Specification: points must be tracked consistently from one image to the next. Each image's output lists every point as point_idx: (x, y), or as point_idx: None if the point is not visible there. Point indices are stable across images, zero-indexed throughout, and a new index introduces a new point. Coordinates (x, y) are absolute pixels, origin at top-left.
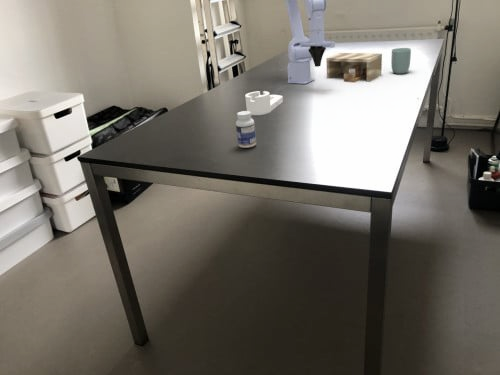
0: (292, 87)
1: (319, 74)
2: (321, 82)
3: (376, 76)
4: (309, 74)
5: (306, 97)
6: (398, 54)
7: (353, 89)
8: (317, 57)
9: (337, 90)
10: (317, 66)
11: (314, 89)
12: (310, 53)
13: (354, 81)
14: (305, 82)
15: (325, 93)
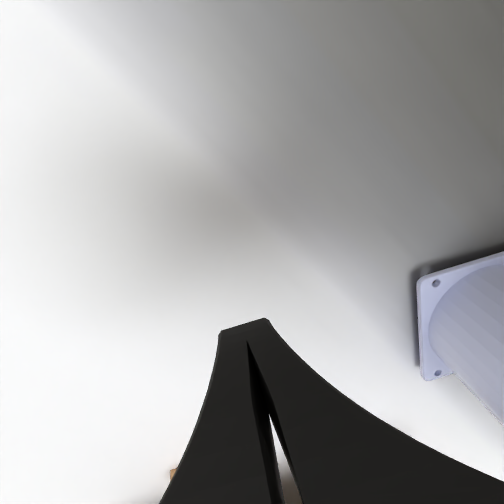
0: (474, 192)
1: (481, 464)
2: (363, 378)
3: None
4: (456, 366)
5: (138, 3)
6: None
7: (32, 384)
8: (205, 433)
9: (105, 312)
10: (225, 331)
11: (281, 241)
12: (408, 443)
13: (170, 478)
14: (427, 290)
15: (108, 205)
